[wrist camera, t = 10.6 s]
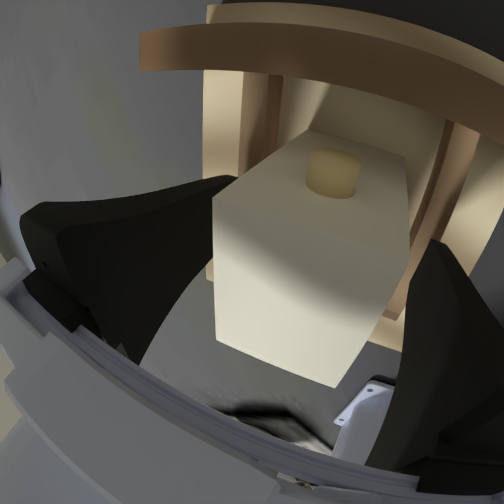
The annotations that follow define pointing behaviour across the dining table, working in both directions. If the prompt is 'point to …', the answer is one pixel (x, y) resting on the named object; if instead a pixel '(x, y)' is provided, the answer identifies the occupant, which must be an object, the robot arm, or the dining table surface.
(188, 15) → the dining table surface
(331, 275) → the cabinet block
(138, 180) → the dining table surface
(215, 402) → the dining table surface
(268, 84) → the board
